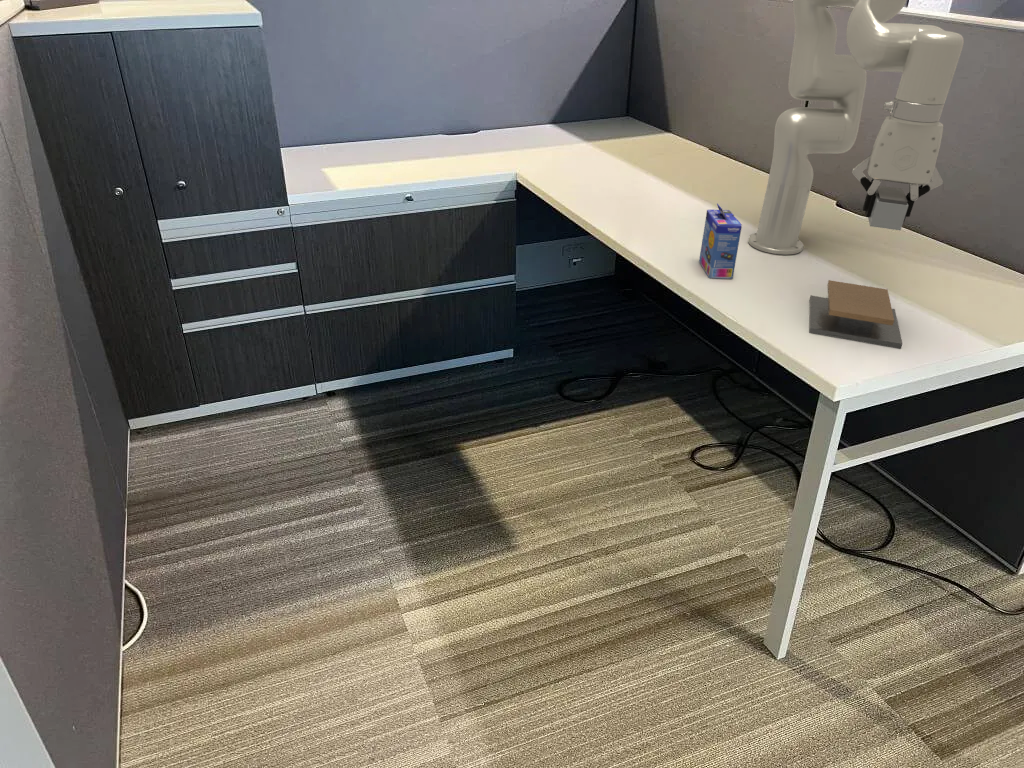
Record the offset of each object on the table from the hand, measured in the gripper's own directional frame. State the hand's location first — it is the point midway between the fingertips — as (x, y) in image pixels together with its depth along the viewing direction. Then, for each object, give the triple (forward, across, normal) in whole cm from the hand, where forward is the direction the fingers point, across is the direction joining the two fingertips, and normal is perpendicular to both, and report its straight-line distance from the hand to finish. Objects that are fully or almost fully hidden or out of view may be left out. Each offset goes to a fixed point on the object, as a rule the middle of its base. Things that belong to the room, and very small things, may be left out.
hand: (884, 216), depth 137 cm
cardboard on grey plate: (+21, 0, 0) cm, 21 cm away
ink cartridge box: (+21, -28, +16) cm, 39 cm away
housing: (+1, 0, 0) cm, 1 cm away
